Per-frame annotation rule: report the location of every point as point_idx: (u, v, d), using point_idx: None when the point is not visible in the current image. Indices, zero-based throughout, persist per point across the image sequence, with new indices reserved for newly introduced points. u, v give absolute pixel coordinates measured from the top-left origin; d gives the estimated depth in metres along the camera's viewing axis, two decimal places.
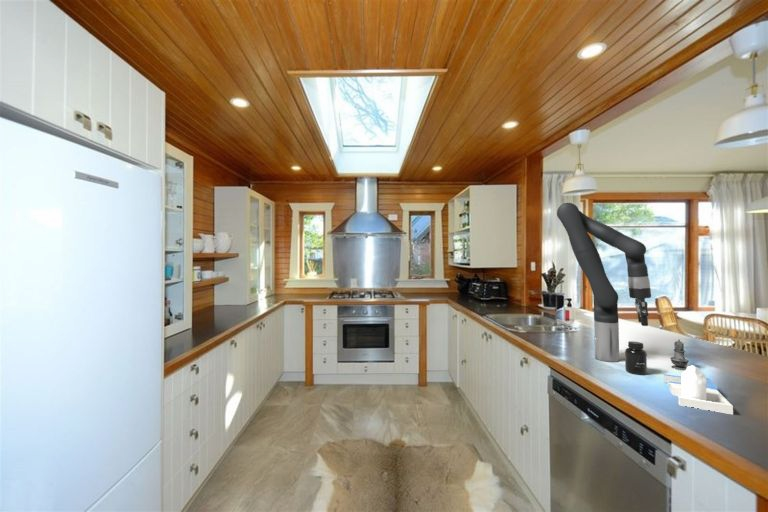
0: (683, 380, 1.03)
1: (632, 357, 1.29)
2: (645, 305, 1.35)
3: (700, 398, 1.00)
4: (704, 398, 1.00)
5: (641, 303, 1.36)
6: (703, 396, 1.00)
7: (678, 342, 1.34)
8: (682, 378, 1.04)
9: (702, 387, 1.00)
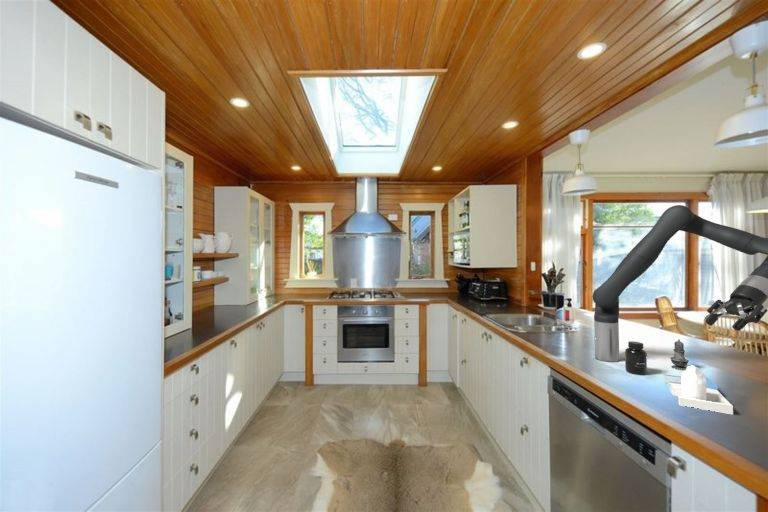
0: (683, 380, 1.03)
1: (632, 357, 1.29)
2: (764, 311, 1.02)
3: (700, 398, 1.00)
4: (704, 398, 1.00)
5: (763, 307, 1.03)
6: (703, 396, 1.00)
7: (678, 342, 1.34)
8: (682, 378, 1.04)
9: (702, 387, 1.00)
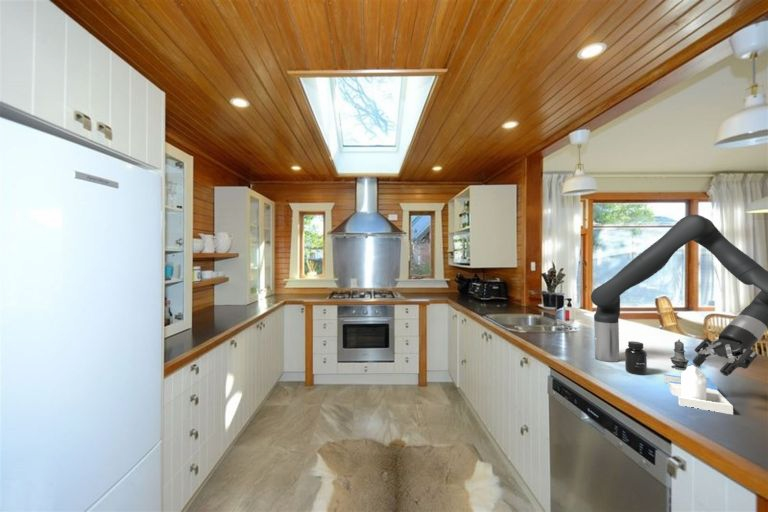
0: (683, 380, 1.03)
1: (632, 357, 1.29)
2: (753, 356, 0.96)
3: (700, 398, 1.00)
4: (704, 398, 1.00)
5: (752, 351, 0.97)
6: (703, 396, 1.00)
7: (678, 342, 1.34)
8: (682, 378, 1.04)
9: (702, 387, 1.00)
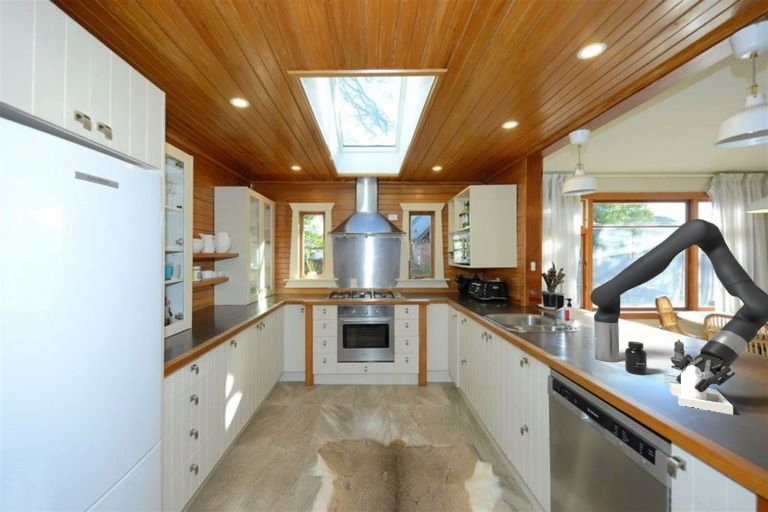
0: (683, 380, 1.03)
1: (632, 357, 1.29)
2: (730, 375, 0.97)
3: (700, 398, 1.00)
4: (704, 398, 1.00)
5: (730, 370, 0.96)
6: (703, 396, 1.00)
7: (678, 342, 1.34)
8: (682, 378, 1.04)
9: None
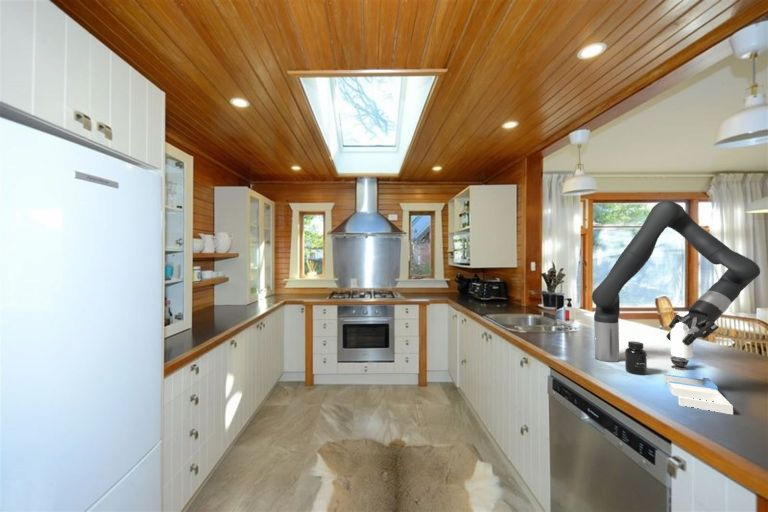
0: (672, 336, 1.14)
1: (632, 357, 1.29)
2: (714, 328, 1.07)
3: (687, 351, 1.11)
4: (691, 351, 1.11)
5: (713, 324, 1.07)
6: (690, 349, 1.11)
7: None
8: (671, 334, 1.14)
9: None
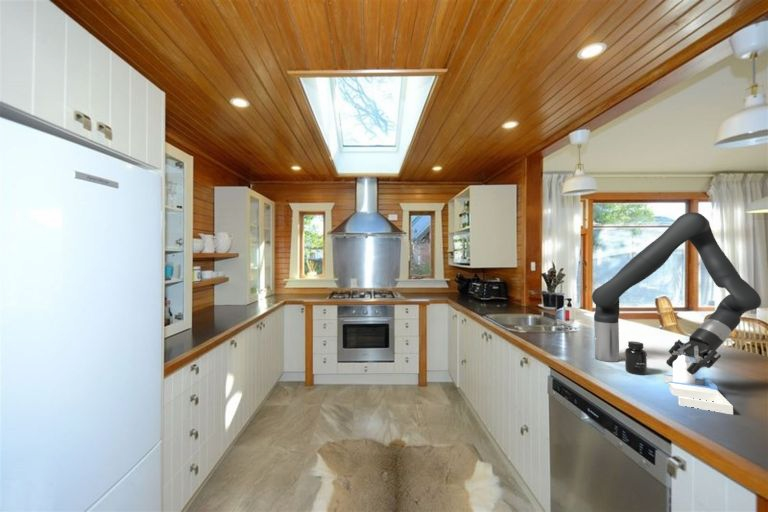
0: (674, 368, 1.14)
1: (632, 357, 1.29)
2: (717, 357, 1.07)
3: None
4: (693, 384, 1.11)
5: (716, 353, 1.07)
6: (692, 382, 1.11)
7: None
8: (673, 366, 1.15)
9: (691, 374, 1.11)
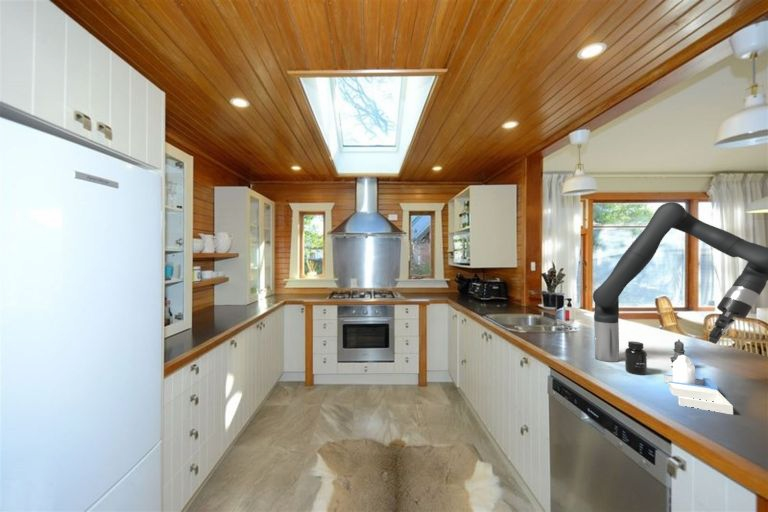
0: (674, 368, 1.14)
1: (632, 357, 1.29)
2: (729, 316, 1.10)
3: None
4: (693, 384, 1.11)
5: (725, 312, 1.11)
6: (692, 382, 1.11)
7: (678, 342, 1.34)
8: (673, 366, 1.15)
9: (691, 374, 1.11)
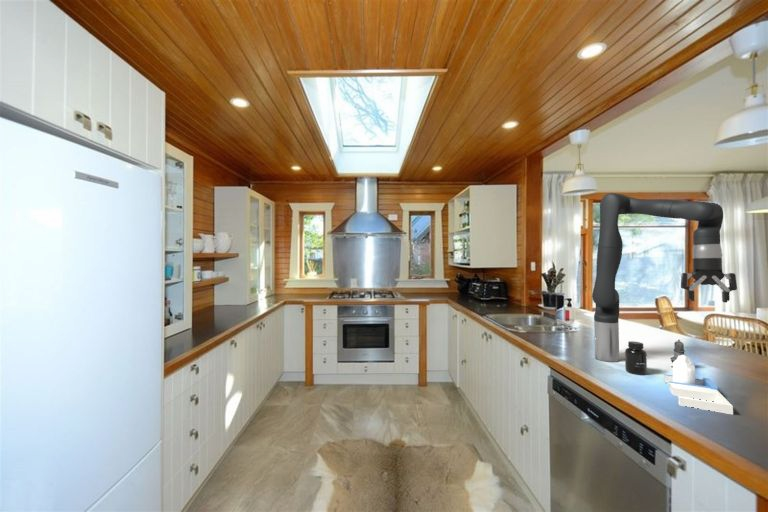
0: (674, 368, 1.14)
1: (632, 357, 1.29)
2: (682, 276, 1.20)
3: None
4: (693, 384, 1.11)
5: (682, 274, 1.21)
6: (692, 382, 1.11)
7: (678, 342, 1.34)
8: (673, 366, 1.15)
9: (691, 374, 1.11)
